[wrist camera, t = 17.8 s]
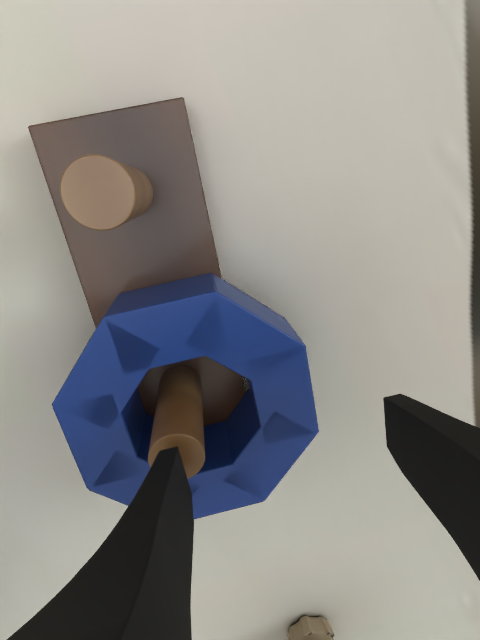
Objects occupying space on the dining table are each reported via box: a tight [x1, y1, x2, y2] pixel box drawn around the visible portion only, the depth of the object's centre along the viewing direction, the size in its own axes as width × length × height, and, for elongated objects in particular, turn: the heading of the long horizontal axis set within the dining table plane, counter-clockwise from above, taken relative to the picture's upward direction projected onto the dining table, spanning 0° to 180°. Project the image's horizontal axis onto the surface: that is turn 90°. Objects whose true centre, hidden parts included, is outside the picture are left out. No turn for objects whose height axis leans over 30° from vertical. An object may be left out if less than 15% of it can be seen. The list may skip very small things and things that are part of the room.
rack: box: [28, 97, 245, 479], centre depth 15 cm, size 6×15×7 cm, turn 11°
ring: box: [52, 273, 319, 519], centre depth 17 cm, size 10×10×3 cm
